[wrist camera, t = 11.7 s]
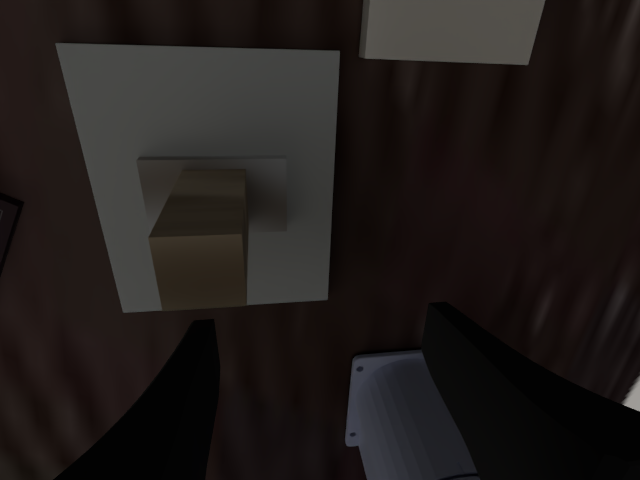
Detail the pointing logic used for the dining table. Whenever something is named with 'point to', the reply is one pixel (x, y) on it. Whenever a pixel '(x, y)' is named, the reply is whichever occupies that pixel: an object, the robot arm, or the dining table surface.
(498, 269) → the dining table surface
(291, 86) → the mat
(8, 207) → the chocolate bar
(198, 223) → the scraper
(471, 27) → the tile
